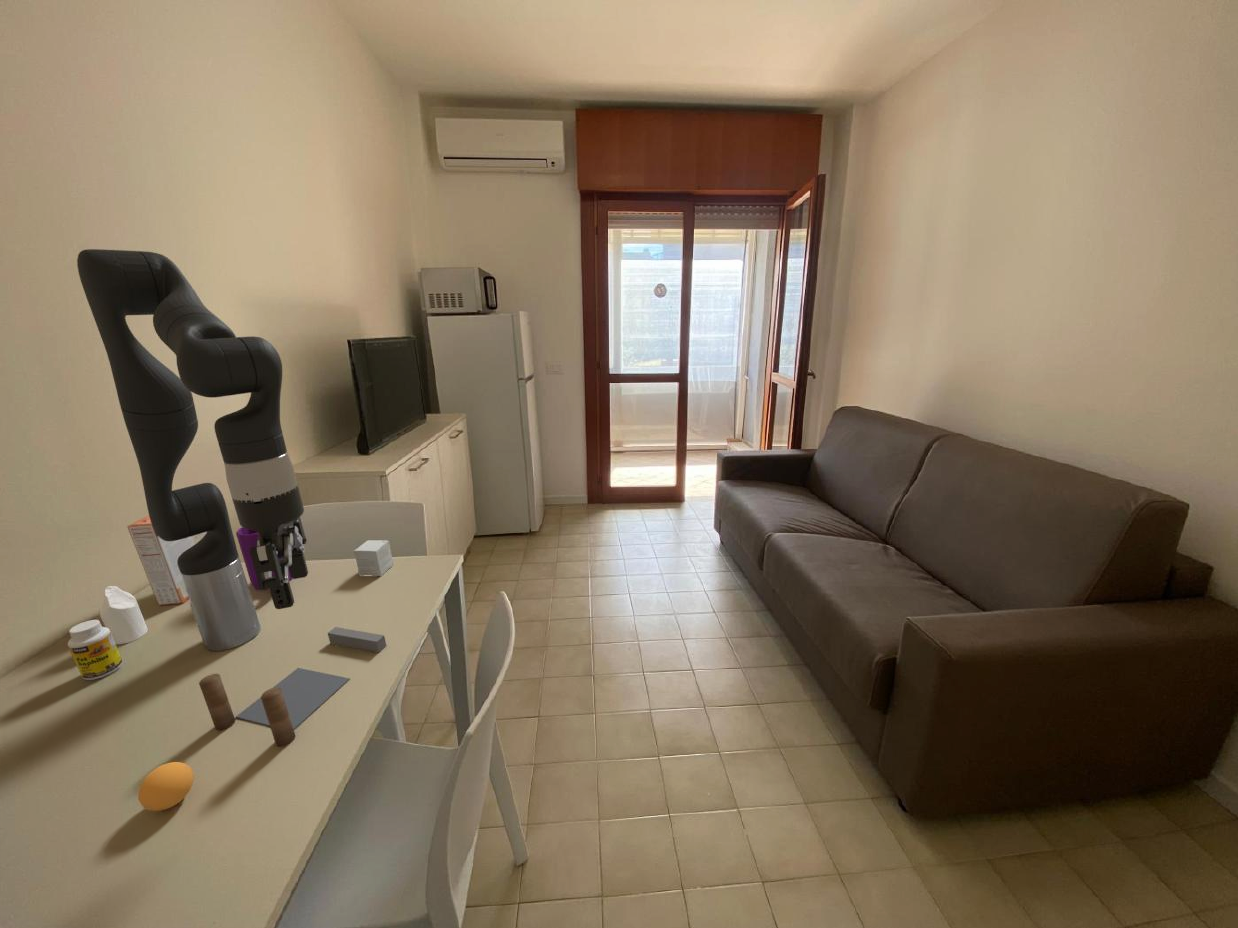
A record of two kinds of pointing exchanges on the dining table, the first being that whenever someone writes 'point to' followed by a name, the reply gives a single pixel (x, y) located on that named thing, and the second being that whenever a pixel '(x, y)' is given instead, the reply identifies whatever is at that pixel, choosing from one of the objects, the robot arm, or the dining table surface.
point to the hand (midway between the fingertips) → (293, 591)
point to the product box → (374, 557)
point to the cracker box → (162, 561)
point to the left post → (217, 702)
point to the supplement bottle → (94, 650)
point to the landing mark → (298, 696)
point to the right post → (278, 716)
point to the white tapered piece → (122, 615)
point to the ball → (165, 786)
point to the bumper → (357, 639)
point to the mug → (246, 541)
